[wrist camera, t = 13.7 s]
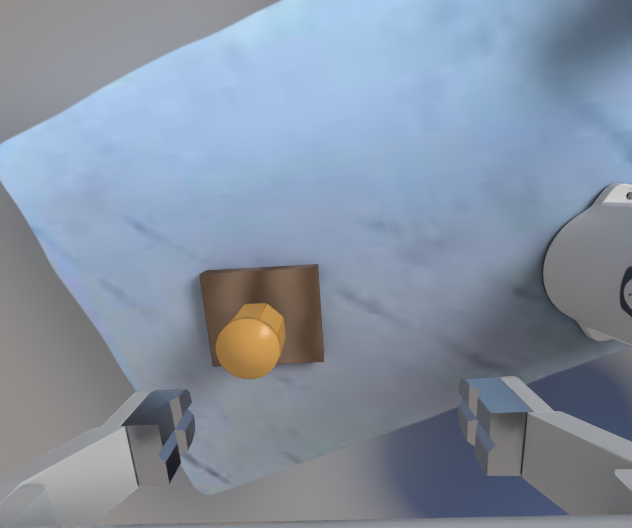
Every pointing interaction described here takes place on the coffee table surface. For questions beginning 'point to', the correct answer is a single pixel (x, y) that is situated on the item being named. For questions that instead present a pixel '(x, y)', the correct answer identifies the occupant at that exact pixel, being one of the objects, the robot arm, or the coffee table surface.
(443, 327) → the coffee table surface
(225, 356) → the domed octagonal prism
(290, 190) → the coffee table surface
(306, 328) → the wooden peg stand
